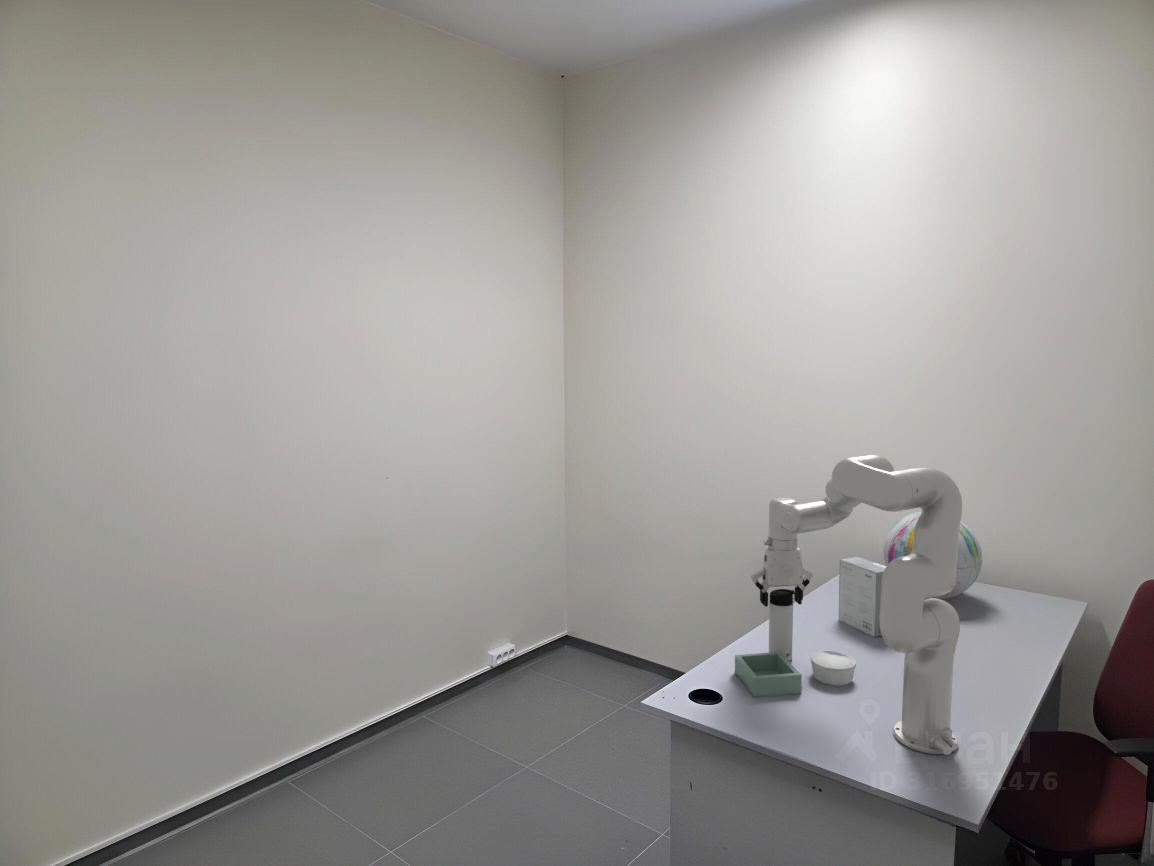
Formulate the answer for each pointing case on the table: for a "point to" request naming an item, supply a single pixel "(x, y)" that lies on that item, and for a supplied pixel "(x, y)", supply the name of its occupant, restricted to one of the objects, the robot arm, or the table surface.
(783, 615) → the travel mug
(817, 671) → the ramekin
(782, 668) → the tray
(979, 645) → the table surface
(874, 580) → the hard drive box
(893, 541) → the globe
